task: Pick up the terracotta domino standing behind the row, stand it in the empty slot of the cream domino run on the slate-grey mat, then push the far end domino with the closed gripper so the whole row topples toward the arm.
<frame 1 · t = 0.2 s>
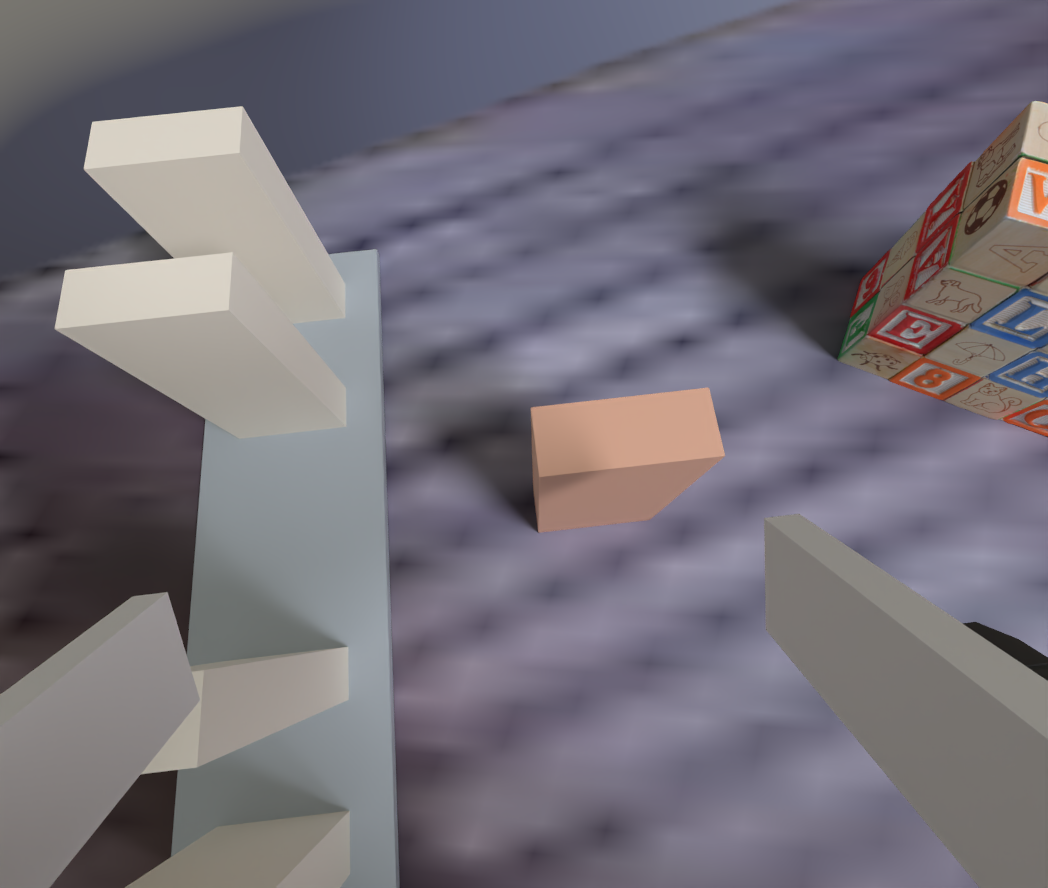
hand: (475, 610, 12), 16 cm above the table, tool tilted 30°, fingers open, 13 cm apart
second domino: (293, 412, 30), point 1 cm above the table, touching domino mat
end domino: (296, 306, 32), point 1 cm above the table, touching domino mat
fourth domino: (286, 680, 26), point 1 cm above the table, touching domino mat
stack of blocks: (1028, 386, 31), on the table
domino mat: (295, 537, 29), on the table
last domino: (282, 849, 24), point 1 cm above the table, touching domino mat
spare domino: (590, 504, 29), on the table
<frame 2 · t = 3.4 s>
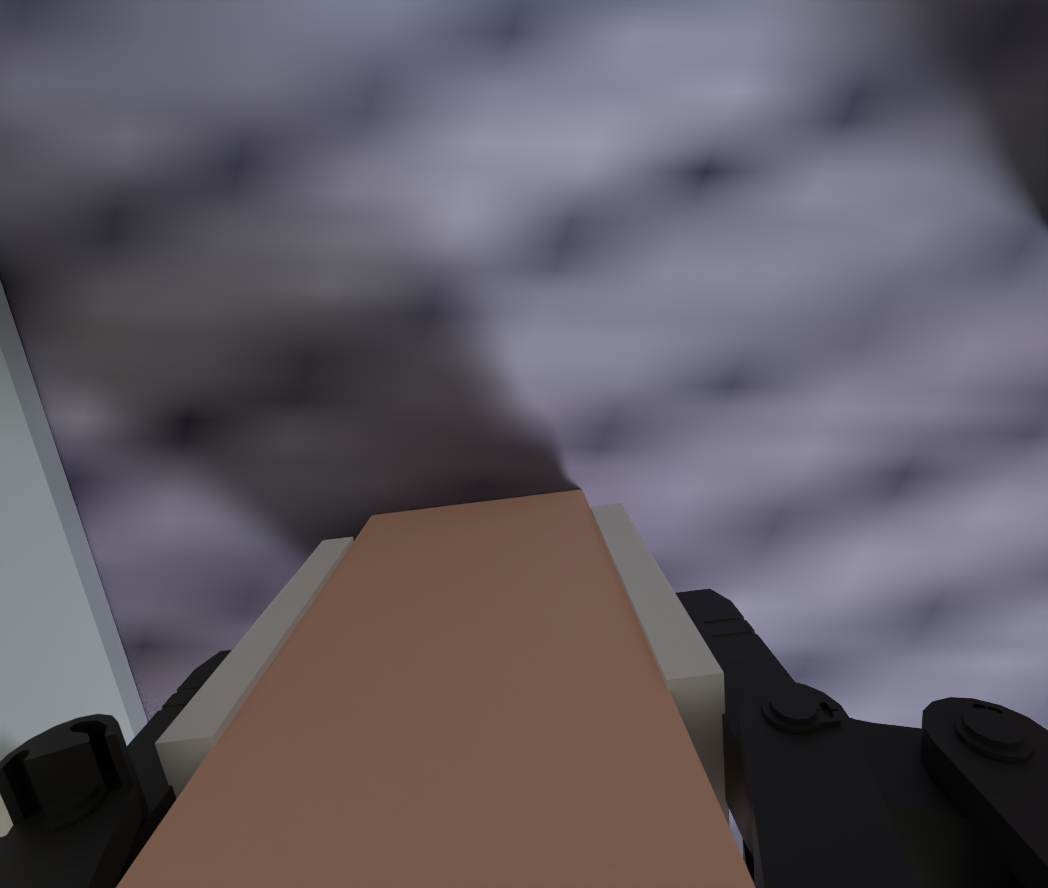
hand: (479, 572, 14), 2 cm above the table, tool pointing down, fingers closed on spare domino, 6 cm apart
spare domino: (482, 541, 15), on the table, touching gripper
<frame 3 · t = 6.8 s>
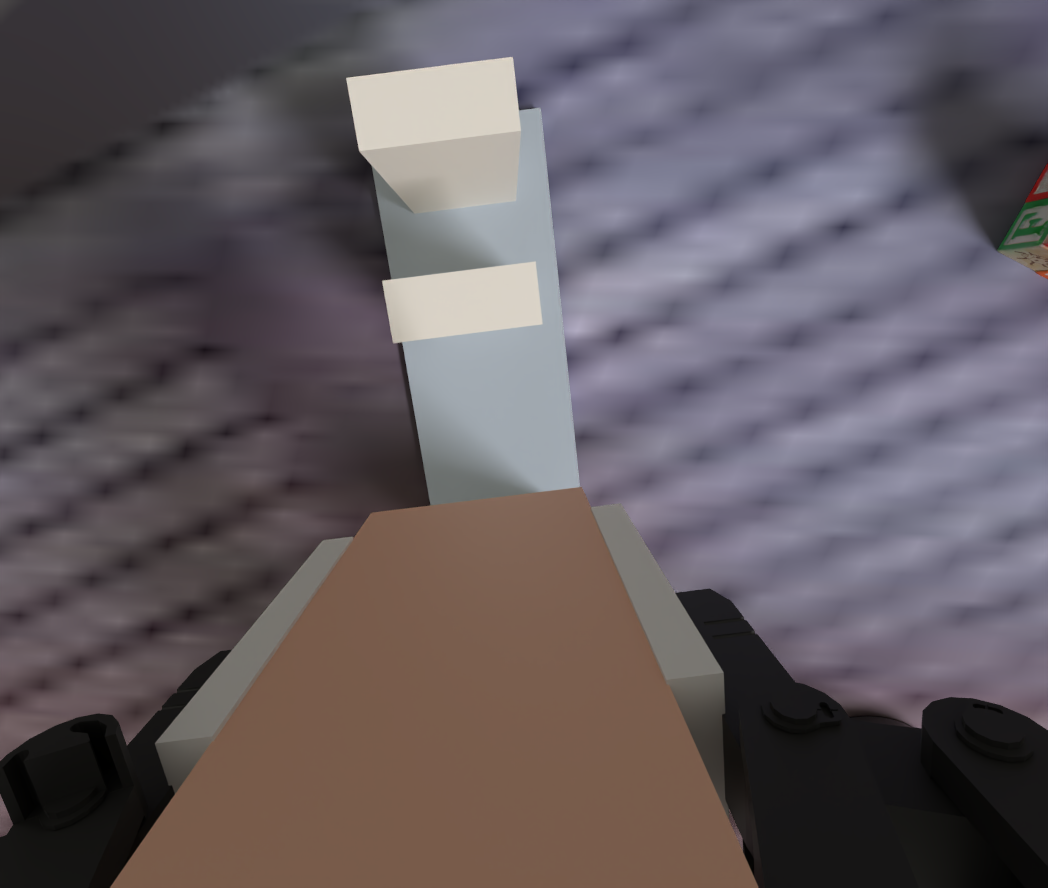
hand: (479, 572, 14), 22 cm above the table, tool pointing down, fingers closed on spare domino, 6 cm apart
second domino: (479, 308, 33), point 1 cm above the table, touching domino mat
end domino: (462, 185, 31), point 1 cm above the table, touching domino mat
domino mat: (494, 418, 35), on the table
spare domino: (482, 538, 15), point 20 cm above the table, touching gripper
when the fingers open (3 cm above the table, at t = 10.6 s): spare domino stays where it is, resting on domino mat.
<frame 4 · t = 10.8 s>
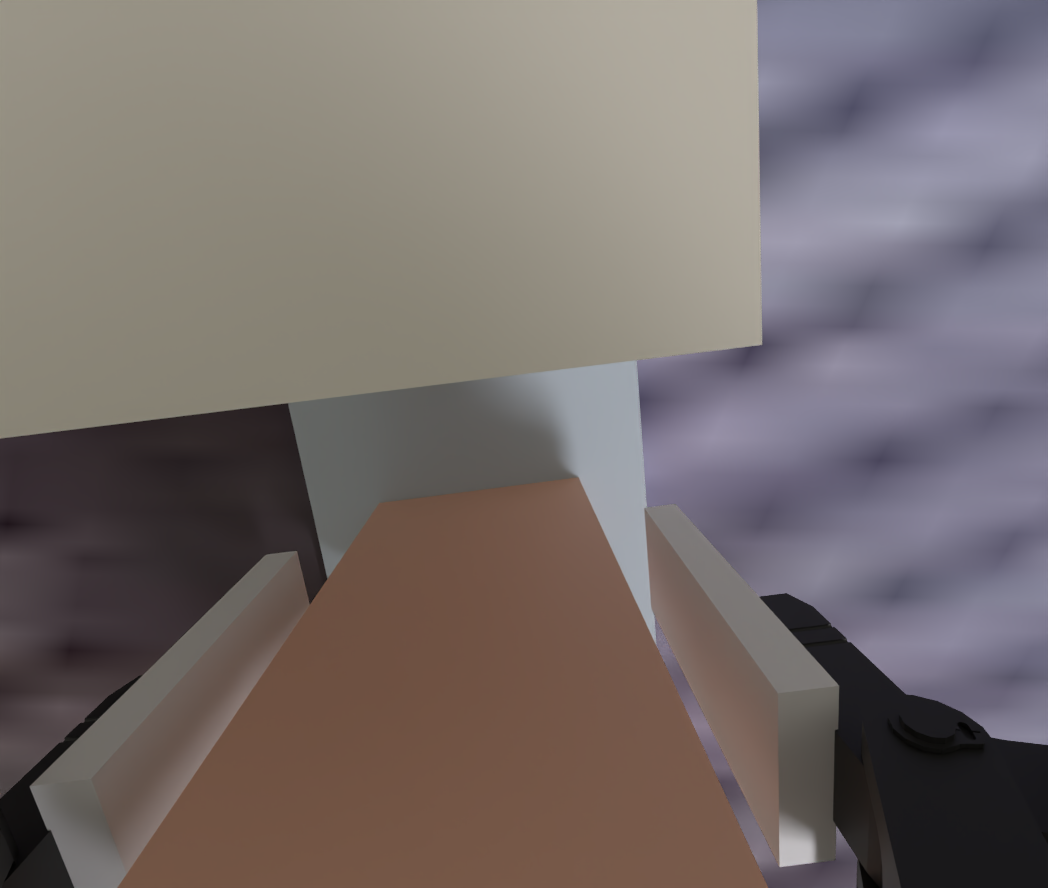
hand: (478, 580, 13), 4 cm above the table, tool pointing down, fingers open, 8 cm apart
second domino: (449, 292, 15), point 1 cm above the table, touching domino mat
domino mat: (484, 522, 17), on the table
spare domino: (484, 527, 16), point 1 cm above the table, touching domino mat
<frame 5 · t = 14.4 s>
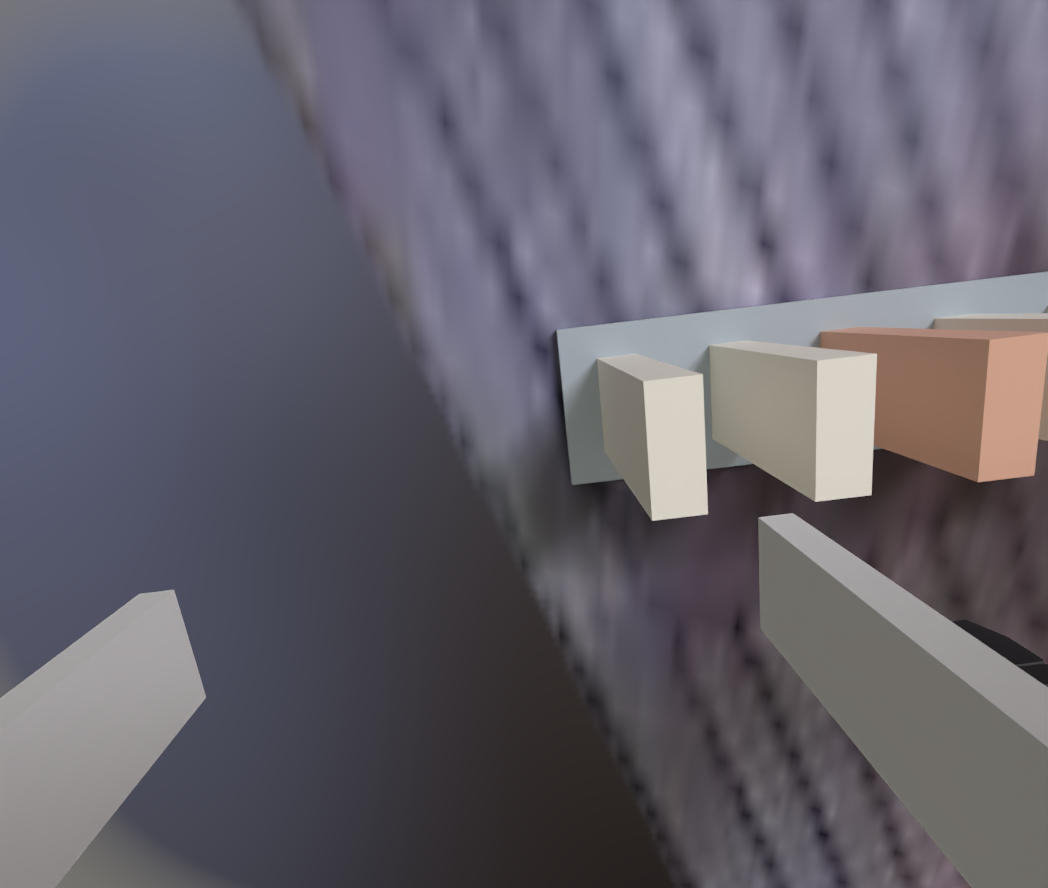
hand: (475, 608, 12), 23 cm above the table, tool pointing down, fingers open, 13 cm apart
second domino: (729, 390, 34), point 1 cm above the table, touching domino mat
end domino: (619, 403, 34), point 1 cm above the table, touching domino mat
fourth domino: (950, 364, 34), point 1 cm above the table, touching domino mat
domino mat: (834, 376, 34), on the table
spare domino: (839, 377, 34), point 1 cm above the table, touching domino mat
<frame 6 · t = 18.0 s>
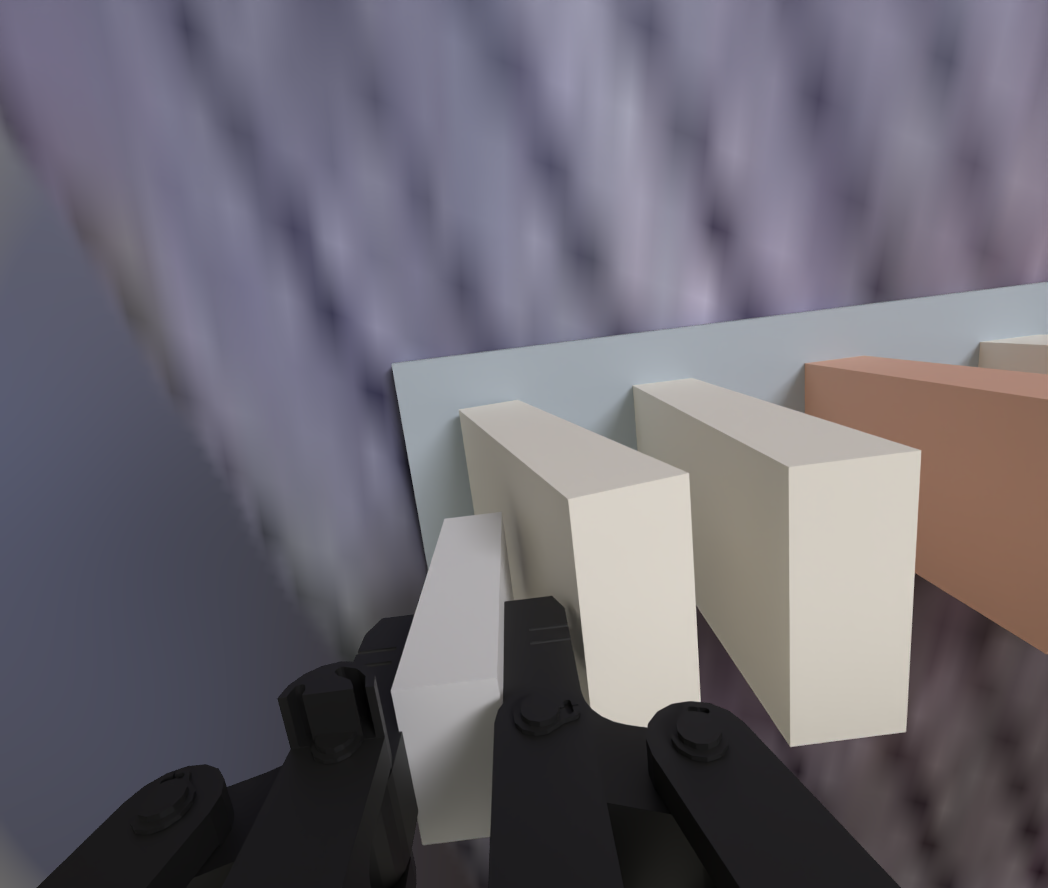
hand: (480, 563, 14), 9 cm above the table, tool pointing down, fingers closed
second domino: (666, 454, 22), point 1 cm above the table, touching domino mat
end domino: (498, 477, 22), point 1 cm above the table, tilted 14°, touching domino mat
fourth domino: (1003, 411, 22), point 1 cm above the table, touching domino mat
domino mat: (826, 429, 23), on the table
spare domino: (833, 432, 22), point 1 cm above the table, touching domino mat
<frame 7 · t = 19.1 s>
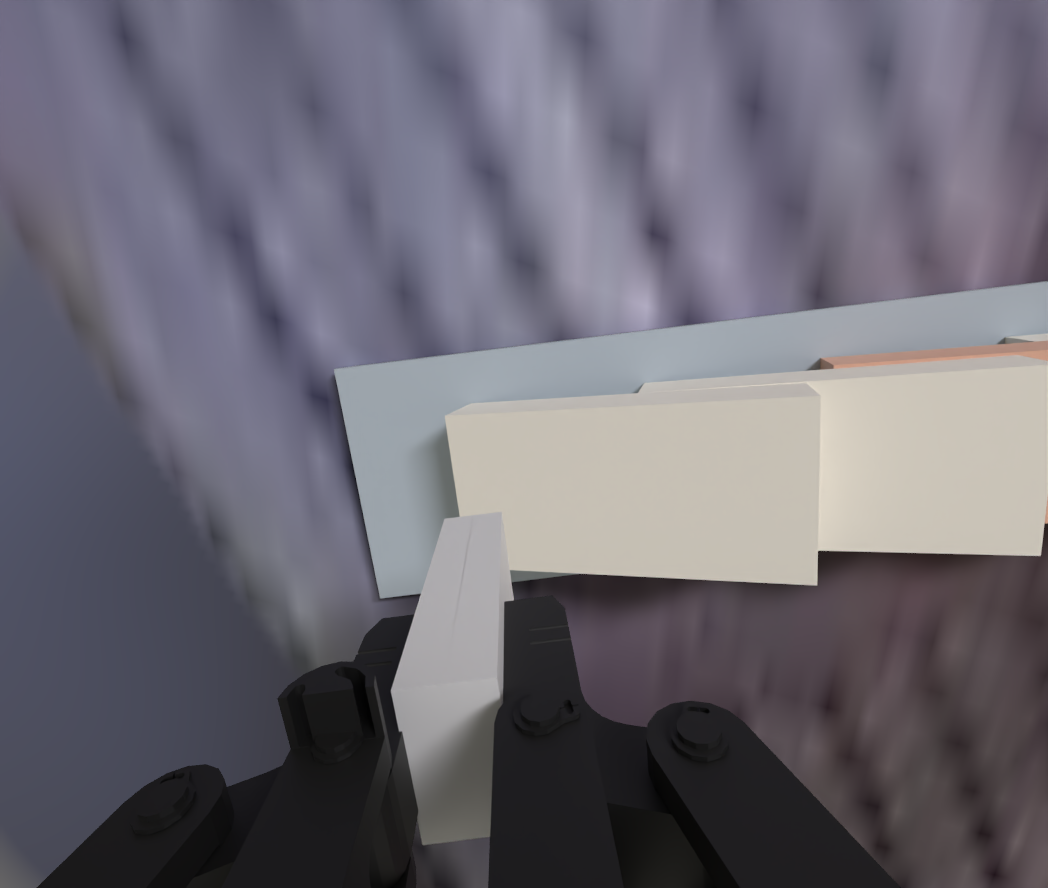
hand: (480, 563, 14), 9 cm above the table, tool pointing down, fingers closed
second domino: (646, 463, 21), point 2 cm above the table, tilted 70°, touching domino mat, end domino, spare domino
end domino: (469, 484, 21), point 2 cm above the table, tilted 70°, touching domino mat, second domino
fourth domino: (1013, 416, 21), point 2 cm above the table, tilted 68°, touching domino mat, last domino, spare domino
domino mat: (770, 435, 23), on the table
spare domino: (825, 437, 21), point 2 cm above the table, tilted 70°, touching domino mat, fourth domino, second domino
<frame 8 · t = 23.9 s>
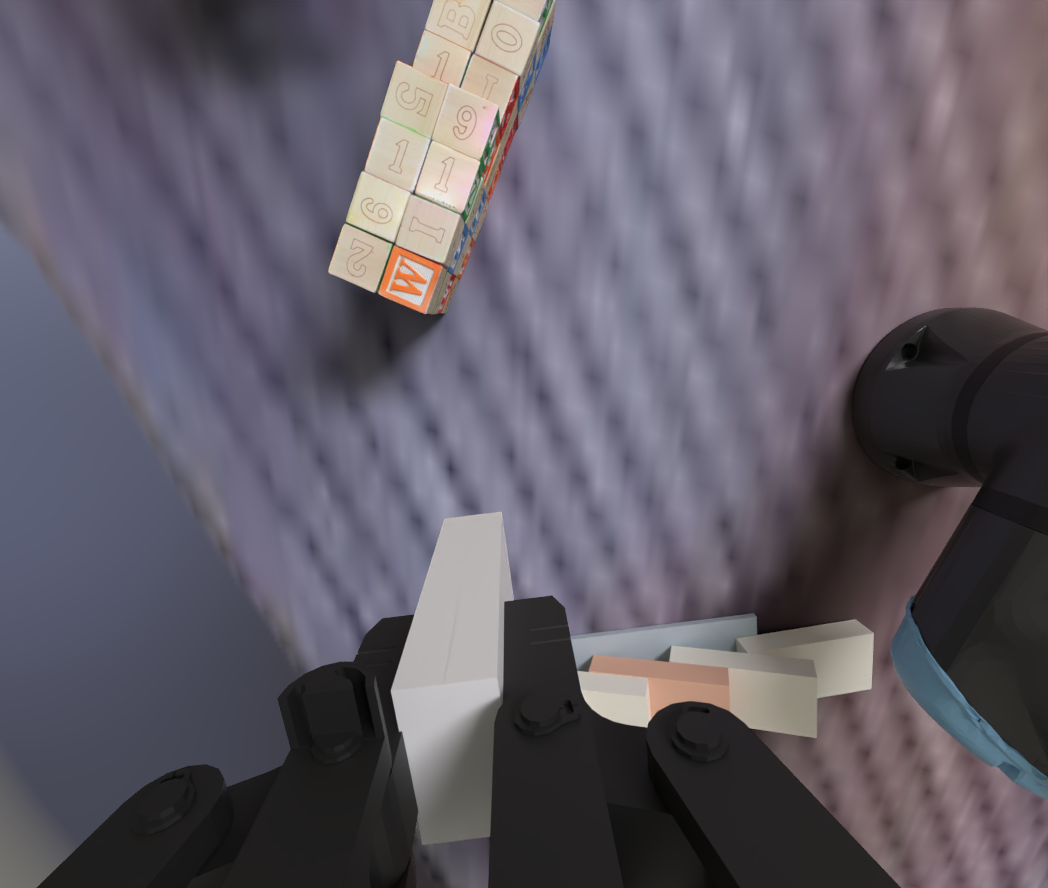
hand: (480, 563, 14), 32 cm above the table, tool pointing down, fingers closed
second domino: (519, 700, 51), point 2 cm above the table, tilted 70°, touching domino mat, end domino, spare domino
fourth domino: (672, 680, 51), point 2 cm above the table, tilted 68°, touching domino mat, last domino, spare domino
stack of blocks: (459, 171, 42), on the table
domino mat: (577, 680, 52), on the table
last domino: (742, 673, 50), point 2 cm above the table, tilted 93°, touching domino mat, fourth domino
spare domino: (593, 690, 51), point 2 cm above the table, tilted 70°, touching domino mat, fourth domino, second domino
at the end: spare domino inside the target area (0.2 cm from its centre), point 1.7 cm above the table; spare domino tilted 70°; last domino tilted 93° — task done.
